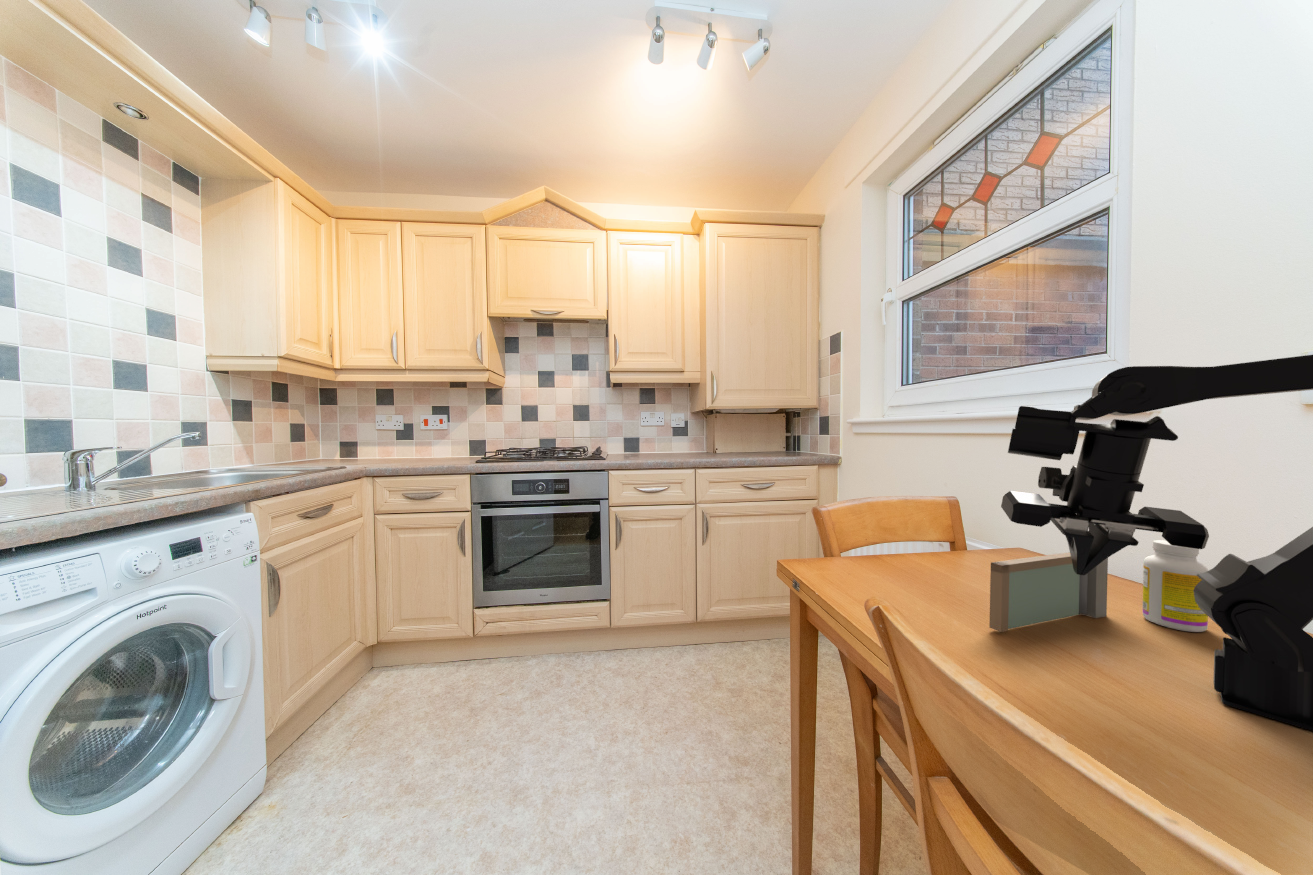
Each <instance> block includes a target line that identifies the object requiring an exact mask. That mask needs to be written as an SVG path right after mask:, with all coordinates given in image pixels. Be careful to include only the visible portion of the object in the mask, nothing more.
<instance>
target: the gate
mask: <svg viewBox="0 0 1313 875" xmlns="http://www.w3.org/2000/svg"><path fill="white" fill-rule="evenodd" d="M989 581H990V582H989V584H990V585H989V586H990V588H989V589H990V590H989V624H988V625H989V626H988V628H990V629H991V630H994V631H996V632H999V633H1003V632H1008V631H1009V630H1012V629H1016V628H1021V627H1025V626H1031V625H1035V624H1040V623H1041V624H1042V623H1045V622H1050V621H1055V620H1060V619H1064V618H1070V617H1074V616H1079V615H1083V616H1086V614H1087V584H1088V573H1087V574H1086V575H1078V574H1076V573H1075V571H1074V569H1073V564H1072V559H1071V555H1070V551H1069V552H1061V553H1053V554H1046V555H1039V556H1029V557H1022V558H1015V559H1014V558H1013V559H1007V560H999V561H991V562H990V580H989Z"/></svg>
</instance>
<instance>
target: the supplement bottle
mask: <svg viewBox="0 0 1313 875" xmlns="http://www.w3.org/2000/svg"><path fill="white" fill-rule="evenodd" d="M1152 549H1153V551H1154V554H1152V555H1148V556H1146V557H1145V558H1144V559H1143V562H1142V563H1143V566H1142V568H1143V569H1142V572H1143V573H1142V576H1143V577H1142V616H1143V618H1144V619H1146V620H1147V621H1150V622H1151V623H1154V624H1156V625H1159V626H1163V627H1165V628H1168V629H1172V630H1178V631H1181V632H1192V633H1203V632H1206V630H1208V627H1209V626H1208V624H1209V621H1208V620H1209V616H1207V615H1206V614H1205V613H1204V612H1203V611H1202V610H1201V609H1200V608H1199V606H1198V605H1197V603H1196V602H1195V597H1194V592H1193V591H1194V588H1195V586H1196V585H1197V584H1198V583H1199V582H1200V581H1201V580H1202V579H1200V578H1199V577H1198V576H1197V574H1199V573H1203V572H1207V571H1209V569H1208V567H1207V566H1205V564H1203V563H1201V562H1200V561H1198V560H1197V557H1198V555H1199V554H1200V549H1195V548H1188V547H1181V546H1174V545H1171V544H1169V543H1168V542H1167V541H1166V540H1165V539H1163V540H1162V539H1156V540H1152Z"/></svg>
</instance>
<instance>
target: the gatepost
mask: <svg viewBox="0 0 1313 875" xmlns="http://www.w3.org/2000/svg"><path fill="white" fill-rule="evenodd" d="M1108 563H1109V557H1108V558H1107V559H1105V560H1103V562H1101V563H1100V564H1099V565H1097V566H1096V567H1095V568H1094V569H1092V570H1091V571H1090V572H1088V584H1087V614H1086V615H1085V616H1087V617H1090V618H1093V619H1098V618H1105V617H1107V609H1108V605H1107V604H1108V575H1109V574H1108V573H1109V572H1108V571H1109V564H1108Z"/></svg>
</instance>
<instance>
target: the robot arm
mask: <svg viewBox="0 0 1313 875" xmlns="http://www.w3.org/2000/svg"><path fill="white" fill-rule="evenodd" d="M1304 391H1305V392H1306V391H1313V354H1307V355H1306V354H1305V355H1299V356H1291V357H1282V358H1272V359H1265V360H1257V361H1248V362H1240V363H1232V364H1223V365H1215V366H1185V365H1184V366H1182V365H1179V366H1177V365H1148V366H1147V365H1146V366H1145V365H1142V366H1141V365H1140V366H1136V365H1135V366H1125V367H1121V368H1118V369H1116V370H1113V371H1111V372H1110V373H1108V374H1106V375H1104V376H1103V377H1102V378H1101V379H1099V380H1098V381H1097V382H1096V383H1095V385H1094V386H1093V388H1092V390H1091V397H1089V398H1088V399H1087V400H1086V401H1084V402H1082V403H1081V404H1076V405H1075V406H1074V407H1073V409H1072V411H1068V410H1067V411H1066V410H1056V409H1044V408H1038V407H1037V408H1036V407H1033V406H1028V405H1027V406H1026V405H1021V406H1019V407H1018V411H1017V416H1016V421H1015V423H1014V424H1015V425H1014V427H1013V428H1012V430H1011V436H1010V439H1009V445H1008V450H1007V454H1013V455H1019V456H1026V457H1033V458H1039V459H1048V460H1055V461H1061V460H1062V457H1063V454H1064V455H1071V456H1073V455H1074V454H1075V451H1076V448H1077V444H1078V438H1079V435H1080V432H1081V431H1082V432H1084V436H1083V441H1082V443H1081V449H1080V453H1079V456H1078V460H1077V463H1076V465H1072V466H1071V468H1070V471H1069V473H1068V474H1063V473H1062V469H1061V468H1060V467H1051V466H1041V468H1040V470H1039V474H1038V479H1037V480H1038V481H1037V486H1038V488H1039V489H1048V490H1052V497H1053V496H1054V497H1058V499H1059V500H1060V501H1061V502H1066V505H1065V504H1057V503H1049V502H1047V500H1045V499H1044V498H1043V497H1042V496H1041V495H1040V493H1033V492H1031V493H1030V492H1024V491H1023V492H1022V491H1014V490H1009V491H1008V492H1006V493H1005V494H1004V495H1003V496H1002V500H1001V506H1000V508H1002V510H1003V512H1004V513H1005V514H1006V517H1008V519H1009V520H1010V522H1012V523H1015V524H1018V525H1019V524H1020V525H1024V526H1025V525H1027V526H1032V527H1033V526H1034V527H1039V528H1041V527H1043V526H1046V525H1048V524H1049V523H1053V525H1054V526H1055V527H1056V528H1057V529H1058V531H1060V534H1061V533H1062V535H1064V536H1065V539H1066V541H1067V545H1068V550H1069V552H1070V555H1071V559H1072V564H1073V569H1074V571H1075V573H1076V574H1078V575H1086V574H1087V573H1088V572H1090V571H1091V570H1092V569H1094V568H1095V567H1096V566H1097V565H1099V564H1100V563H1101V562H1103V560H1105V559H1107V558H1108V559H1109V557H1111V556H1113V555H1115V554H1117V552H1119V551H1121V550H1123V549H1125V548H1126V547H1128V546H1133V547H1137V546H1138V545H1139V542H1140V541H1138V540H1137V539H1136V538H1135V537H1134V533H1135V532H1136V530H1139V531H1140V530H1142V531H1148V532H1156V533H1162V535H1161V537H1162V538H1163V540H1165V541H1167V542H1168V543H1169V544H1171V545H1174V546H1181V547H1188V548H1195V549H1199V550H1203V549H1206V546H1207V544H1208V540H1209V539H1210V534H1209V531H1208V528H1207V527H1205V525H1204V524H1202V523H1201V522H1199V521H1197V520H1196V519H1195V518H1193V517H1191V516H1189V515H1188V514H1186V513H1185V512H1183V511H1182V510H1178V509H1177V510H1176V509H1169V508H1160V507H1150V506H1143V507H1142V508H1140V509H1139V510H1138V512H1137V513H1132V511H1130V510H1131V507H1132V504H1133V500H1134V497H1135V493H1142V492H1143V489H1144V486H1145V484H1144V483H1142V482H1141V481H1140V478H1141V475H1142V474H1141V473H1142V470H1143V466H1144V463H1145V461H1146V456H1147V453H1148V449H1149V448H1150V443H1151V439H1153V440H1161V441H1168V442H1169V441H1170V442H1174V441H1178V438H1179V436H1178V435H1177V434H1176V433H1175V432H1174V431H1173V430H1172V429H1171V428H1169V427H1168V426H1167V424H1166V423H1165V420H1164V419H1163V418H1162V417H1161V416H1158V415H1157V416H1153V417H1152V418H1150V419H1148V420H1145V421H1140V420H1139V421H1138V420H1131V419H1127V420H1126V419H1119V418H1118V419H1117V418H1116V419H1115V418H1114V419H1112V420H1111V422H1110V423H1109V424H1105V423H1103V424H1102V423H1088V422H1079V421H1080V420H1081V421H1091V420H1094V419H1099V418H1103V417H1105V416H1108V415H1112V416H1121V417H1122V416H1130V415H1137V414H1142V413H1147V412H1151V411H1152V412H1153V411H1157V410H1162V409H1168V408H1171V407H1176V406H1180V405H1186V404H1191V403H1195V402H1196V403H1197V402H1201V401H1205V400H1215V399H1224V398H1225V399H1226V398H1227V399H1228V398H1239V397H1248V396H1257V395H1258V396H1259V395H1269V394H1280V393H1282V394H1283V393H1292V392H1293V393H1294V392H1304ZM1076 420H1079V421H1076ZM1197 576H1198V577H1199V578H1200V579H1202V580H1201V581H1200V582H1199V583H1198V584H1197V585H1196V586H1195V588H1194V591H1193V592H1194V597H1195V602H1196V603H1197V605H1198V606H1199V608H1200V609H1201V610H1202V611H1203V612H1204V613H1205V614H1206V615H1207V616H1208V618H1210V619H1211V620H1212V621H1213V622H1214V623H1215V624H1216V625H1217V626H1218V627H1219V628H1220V629H1221V632H1222V633H1223V634H1225V635H1227V636H1228V637H1230V638H1228V637H1223V638H1222V649H1219V648H1217V649H1214V650H1213V652H1214V653H1213V679H1212V680H1213V689H1214V691H1216V692H1217V693H1219V694H1220V699H1221V703H1222V704H1223V705H1226V706H1229V707H1232V708H1235V709H1239V710H1242V711H1245V712H1248V713H1253V714H1255V715H1259V716H1262V717H1266V718H1267V719H1268V718H1269V719H1272V720H1275V721H1279V722H1283V723H1284V724H1285V723H1286V724H1289V725H1292V726H1295V727H1297V728H1298V727H1299V728H1302V729H1305V730H1308V731H1311V732H1313V636H1312V635H1311V634H1309V633H1307V632H1306V630H1304V629H1305V628H1306V627H1307V626H1308V625H1309V624H1310V623H1311V622H1312V621H1313V526H1312V527H1310V528H1308V529H1307V530H1306V531H1304V532H1303V533H1301V534H1299V535H1298V536H1297V537H1295V538H1294V539H1293V540H1291V541H1290V542H1288V543H1286V544H1285V545H1283V546H1282V547H1280V548H1279V549H1277V550H1276V551H1275V552H1273V553H1271V554H1268V555H1266V556H1263V557H1259V558H1255V559H1252V560H1248V561H1246V560H1245V559H1242V558H1240V557H1239V556H1236V555H1235V554H1232V553H1228V554H1226V556H1224V557H1223V558H1222V559H1221V560H1220V561H1219V562H1218V563H1217V564H1216V565H1214V567H1213V568H1211V569H1208V571H1207V572H1203V573H1199V574H1197Z"/></svg>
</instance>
